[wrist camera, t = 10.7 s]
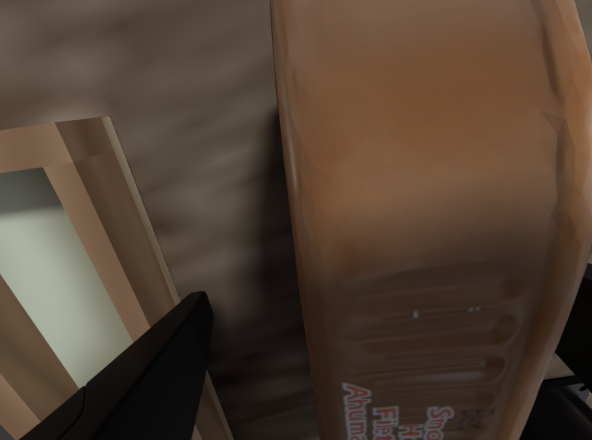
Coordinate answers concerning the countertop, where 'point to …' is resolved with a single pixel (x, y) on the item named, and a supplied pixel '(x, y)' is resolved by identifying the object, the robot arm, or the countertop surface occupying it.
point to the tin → (434, 205)
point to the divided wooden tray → (75, 270)
